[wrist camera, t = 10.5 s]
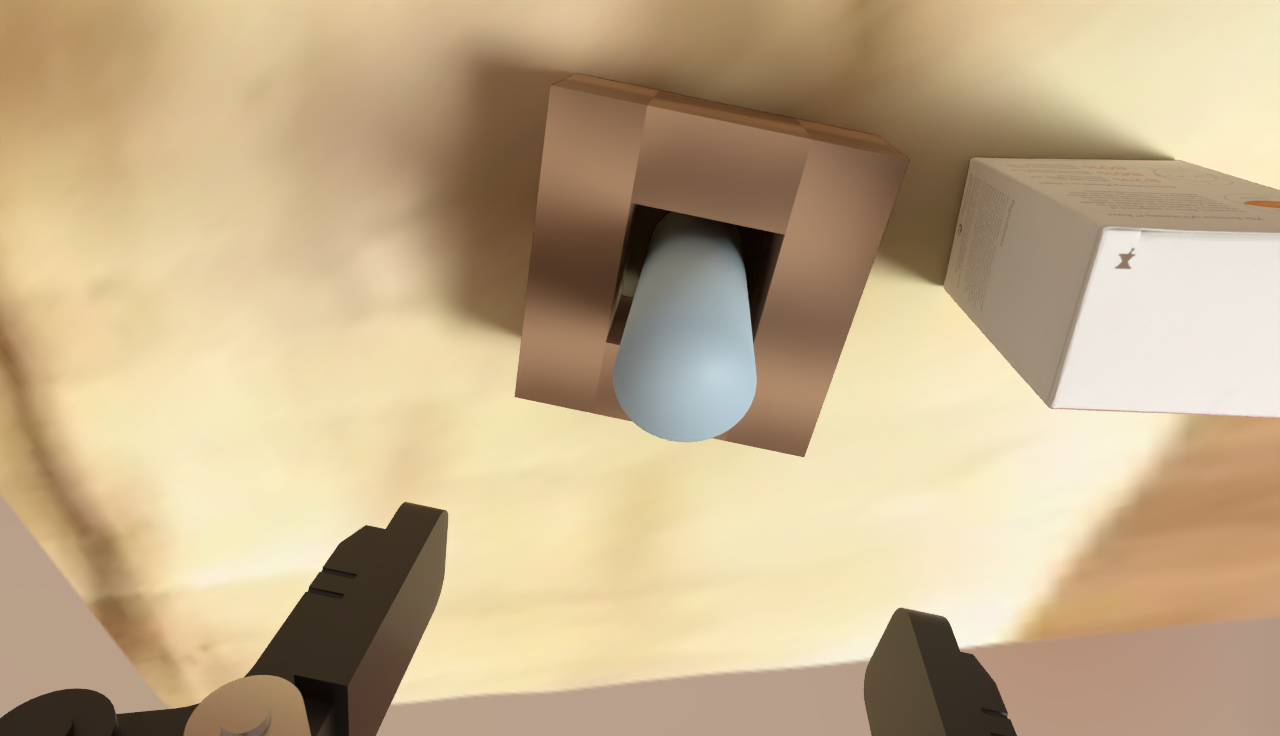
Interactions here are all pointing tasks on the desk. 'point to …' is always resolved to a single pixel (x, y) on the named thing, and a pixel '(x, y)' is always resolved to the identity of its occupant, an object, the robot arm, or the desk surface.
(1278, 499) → the desk surface
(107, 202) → the desk surface
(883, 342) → the desk surface
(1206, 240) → the small box
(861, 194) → the socket block
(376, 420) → the desk surface
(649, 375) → the peg
